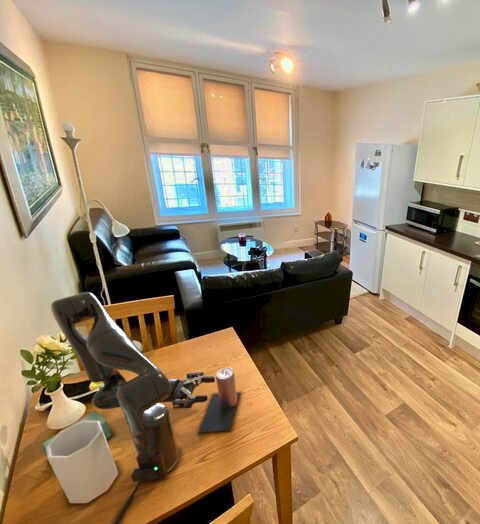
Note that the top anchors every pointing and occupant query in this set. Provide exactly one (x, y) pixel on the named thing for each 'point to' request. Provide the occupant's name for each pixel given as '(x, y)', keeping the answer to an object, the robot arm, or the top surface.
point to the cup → (82, 461)
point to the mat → (218, 416)
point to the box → (91, 417)
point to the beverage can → (226, 388)
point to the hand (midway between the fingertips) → (211, 388)
